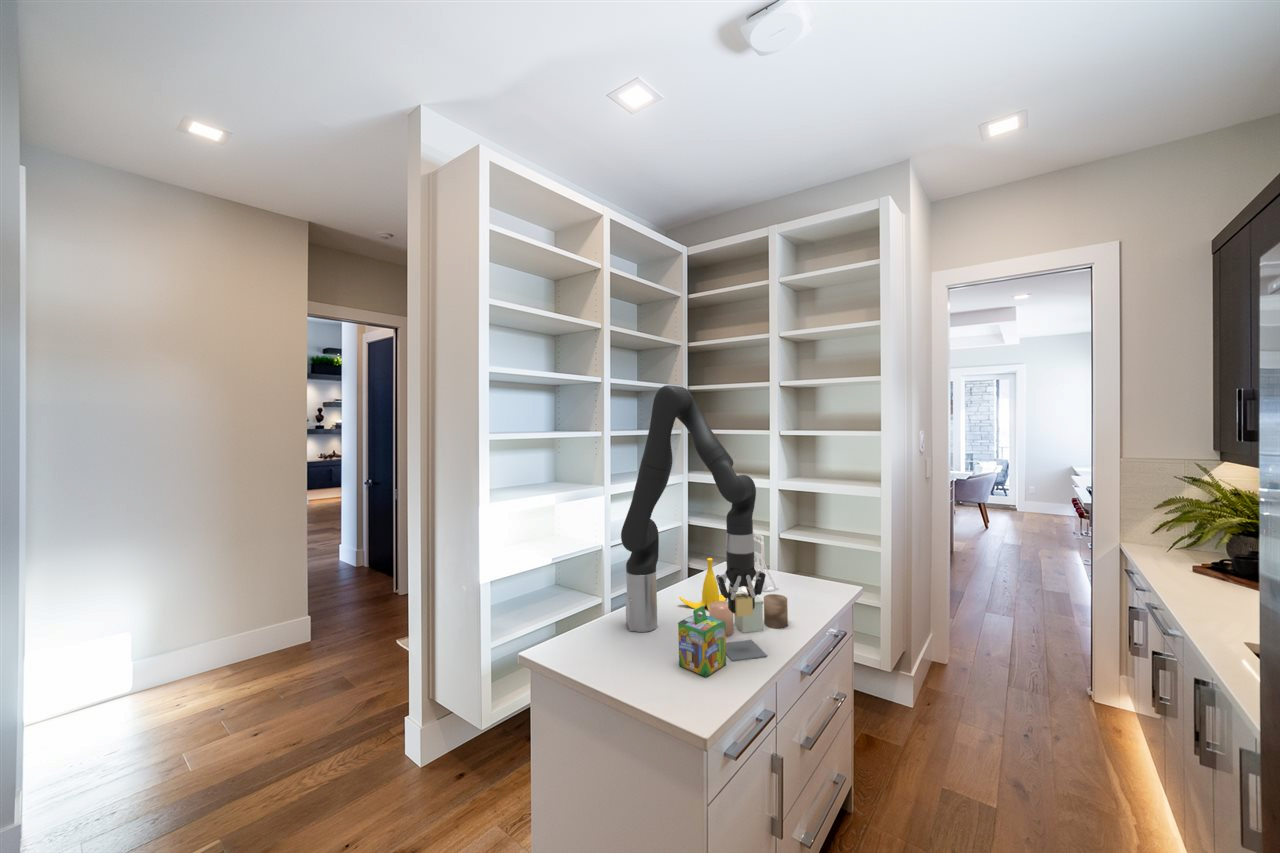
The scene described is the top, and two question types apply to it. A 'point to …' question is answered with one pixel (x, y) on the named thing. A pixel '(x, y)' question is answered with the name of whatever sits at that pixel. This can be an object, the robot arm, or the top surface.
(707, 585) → the banana peel
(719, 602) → the canister
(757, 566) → the film strip holder
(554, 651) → the top surface
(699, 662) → the chalk box
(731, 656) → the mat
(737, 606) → the letter cube
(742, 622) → the pale green square canister
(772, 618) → the canister
